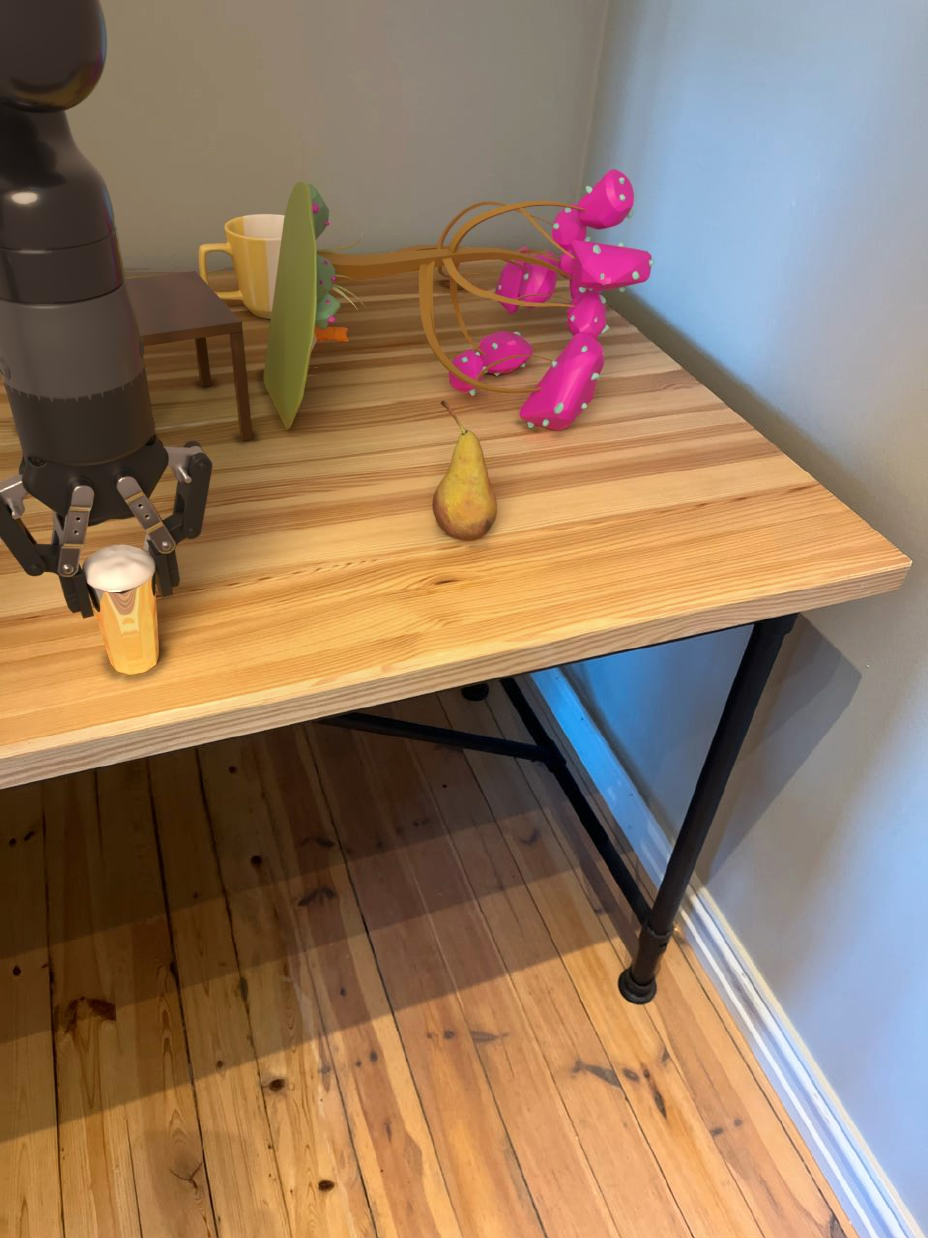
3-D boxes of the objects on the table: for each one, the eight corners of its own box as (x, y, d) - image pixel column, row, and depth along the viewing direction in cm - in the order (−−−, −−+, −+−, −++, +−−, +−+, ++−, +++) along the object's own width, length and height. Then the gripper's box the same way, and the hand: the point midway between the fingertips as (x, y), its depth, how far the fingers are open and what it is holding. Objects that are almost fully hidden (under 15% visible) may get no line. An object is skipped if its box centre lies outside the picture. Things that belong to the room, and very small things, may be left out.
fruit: (451, 558, 77) (459, 430, 69) (420, 524, 81) (425, 398, 73) (507, 543, 79) (521, 417, 72) (475, 510, 83) (485, 387, 75)
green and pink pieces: (282, 55, 86) (617, 121, 96) (258, 312, 108) (533, 343, 118) (307, 238, 69) (710, 294, 80) (272, 499, 91) (591, 515, 101)
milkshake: (190, 650, 66) (176, 535, 60) (132, 690, 63) (111, 572, 56) (146, 625, 68) (127, 511, 62) (87, 663, 64) (61, 545, 58)
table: (129, 464, 85) (105, 340, 78) (95, 401, 95) (70, 285, 87) (253, 439, 90) (242, 321, 83) (209, 382, 100) (195, 270, 92)
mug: (310, 295, 121) (306, 211, 114) (319, 325, 113) (316, 238, 107) (203, 298, 118) (193, 212, 111) (206, 329, 110) (195, 239, 104)
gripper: (181, 320, 57) (211, 546, 67) (-76, 354, 51) (2, 597, 61) (219, 368, 52) (245, 604, 62) (-60, 413, 46) (22, 665, 57)
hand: (125, 599), depth 62 cm, fingers closed on milkshake, 4 cm apart
